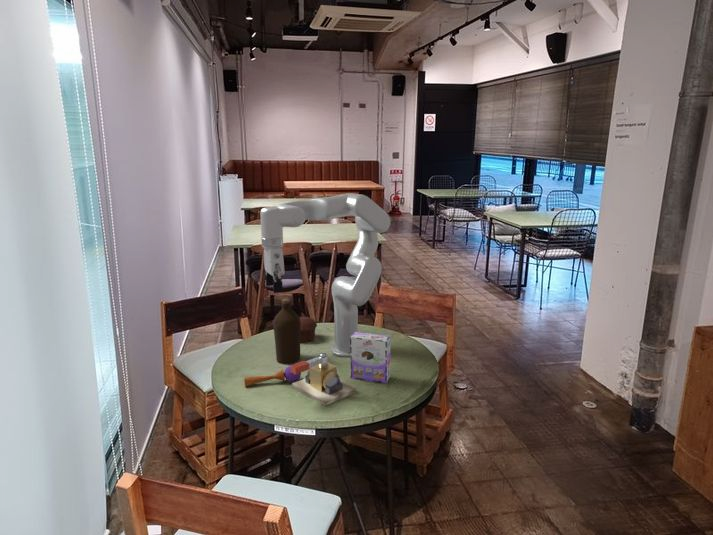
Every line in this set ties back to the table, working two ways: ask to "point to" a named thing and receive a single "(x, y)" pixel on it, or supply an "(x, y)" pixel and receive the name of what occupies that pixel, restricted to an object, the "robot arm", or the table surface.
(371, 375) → the candy box
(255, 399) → the table surface
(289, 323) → the olive oil
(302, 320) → the muffin
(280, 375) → the kendama
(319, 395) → the mounting board
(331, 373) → the pipe and valve body
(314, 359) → the lever
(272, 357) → the table surface
